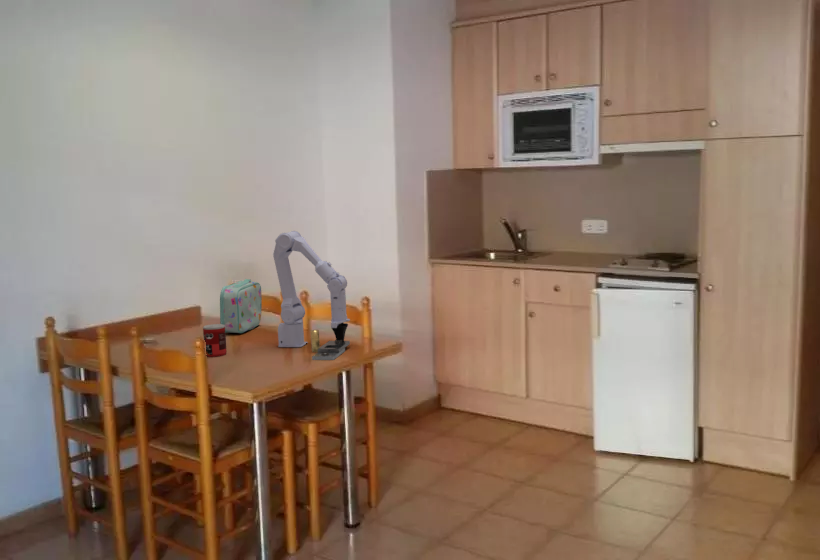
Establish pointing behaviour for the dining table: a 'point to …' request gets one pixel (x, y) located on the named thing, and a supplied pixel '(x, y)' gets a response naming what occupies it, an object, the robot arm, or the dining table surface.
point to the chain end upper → (334, 346)
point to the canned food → (215, 340)
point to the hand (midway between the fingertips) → (340, 343)
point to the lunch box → (240, 306)
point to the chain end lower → (327, 355)
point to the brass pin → (315, 340)
